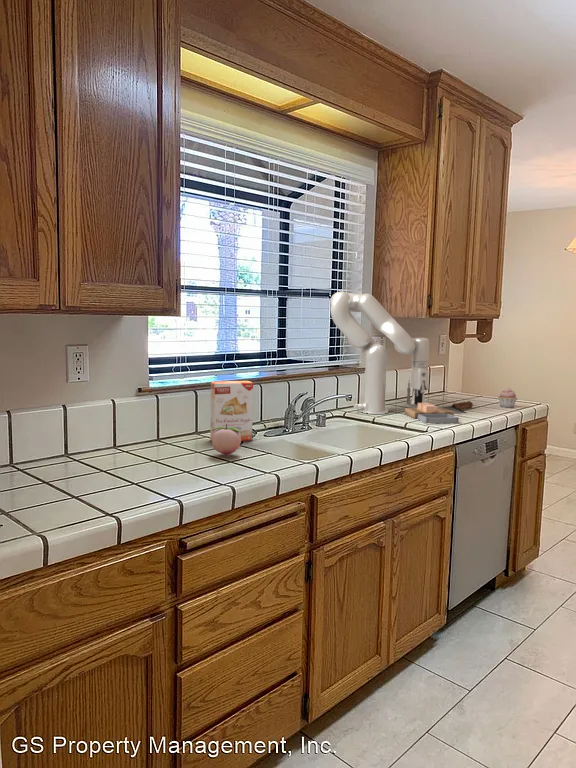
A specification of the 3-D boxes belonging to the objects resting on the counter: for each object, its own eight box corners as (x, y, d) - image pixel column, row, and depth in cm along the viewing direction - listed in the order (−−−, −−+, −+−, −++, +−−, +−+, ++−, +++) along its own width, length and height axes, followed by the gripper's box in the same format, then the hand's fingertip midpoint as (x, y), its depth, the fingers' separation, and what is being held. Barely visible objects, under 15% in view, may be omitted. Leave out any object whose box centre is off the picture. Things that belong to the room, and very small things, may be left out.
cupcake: (518, 406, 287) (520, 387, 286) (514, 409, 279) (516, 388, 278) (499, 405, 292) (500, 385, 291) (494, 407, 284) (496, 387, 283)
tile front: (426, 412, 249) (426, 406, 249) (422, 410, 254) (422, 404, 253) (436, 411, 250) (436, 406, 250) (431, 410, 254) (432, 404, 254)
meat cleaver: (447, 418, 254) (448, 409, 253) (426, 414, 262) (426, 406, 262) (487, 411, 275) (488, 403, 275) (466, 408, 284) (467, 400, 283)
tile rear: (421, 409, 255) (421, 404, 254) (417, 408, 259) (417, 402, 259) (430, 409, 255) (431, 404, 255) (426, 408, 260) (427, 402, 259)
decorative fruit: (210, 459, 176) (209, 427, 175) (212, 452, 184) (212, 421, 183) (240, 459, 176) (240, 427, 175) (242, 452, 184) (242, 422, 183)
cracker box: (214, 443, 197) (214, 383, 194) (210, 440, 202) (209, 381, 200) (253, 440, 202) (253, 381, 199) (247, 437, 207) (248, 380, 205)
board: (414, 419, 247) (414, 412, 247) (404, 414, 259) (404, 408, 259) (453, 418, 250) (454, 412, 250) (442, 414, 262) (442, 407, 262)
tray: (426, 424, 237) (426, 418, 237) (417, 419, 247) (417, 414, 247) (458, 423, 239) (458, 417, 239) (447, 419, 249) (448, 413, 249)
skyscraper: (417, 403, 294) (419, 348, 291) (429, 405, 287) (431, 349, 284) (405, 404, 289) (407, 349, 286) (417, 406, 283) (420, 350, 279)
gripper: (434, 366, 255) (432, 407, 257) (421, 363, 270) (419, 401, 272) (418, 366, 254) (416, 407, 256) (406, 363, 269) (404, 402, 271)
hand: (418, 404), depth 264 cm, fingers closed
